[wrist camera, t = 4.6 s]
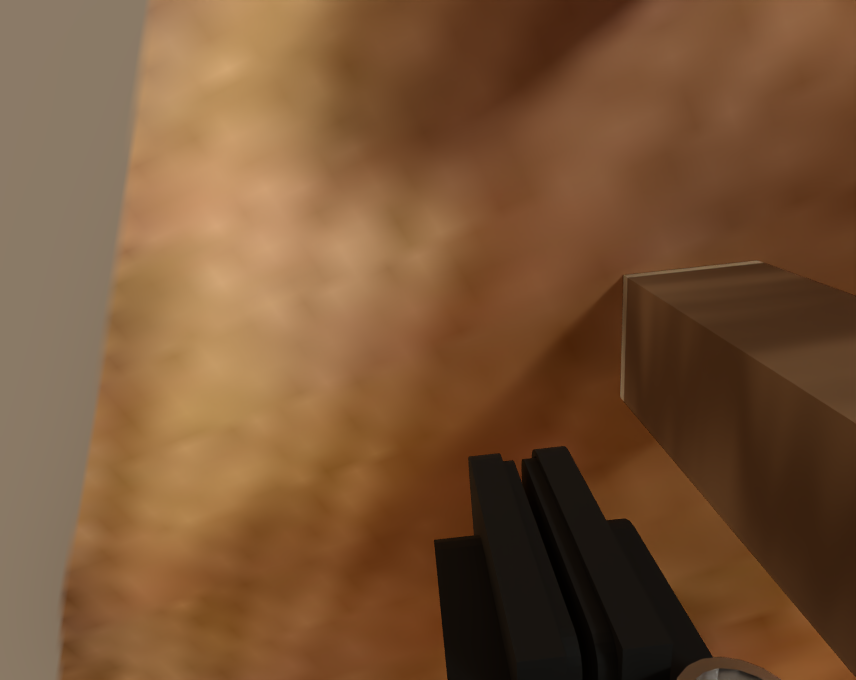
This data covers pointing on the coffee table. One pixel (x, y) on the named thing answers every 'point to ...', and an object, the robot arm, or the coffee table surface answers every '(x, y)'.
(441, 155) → the coffee table surface
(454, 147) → the coffee table surface
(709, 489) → the tan long block
